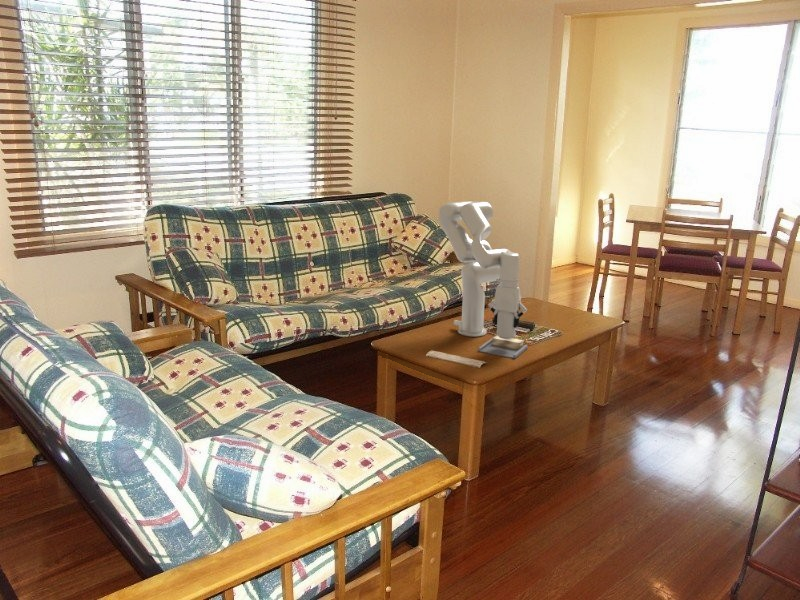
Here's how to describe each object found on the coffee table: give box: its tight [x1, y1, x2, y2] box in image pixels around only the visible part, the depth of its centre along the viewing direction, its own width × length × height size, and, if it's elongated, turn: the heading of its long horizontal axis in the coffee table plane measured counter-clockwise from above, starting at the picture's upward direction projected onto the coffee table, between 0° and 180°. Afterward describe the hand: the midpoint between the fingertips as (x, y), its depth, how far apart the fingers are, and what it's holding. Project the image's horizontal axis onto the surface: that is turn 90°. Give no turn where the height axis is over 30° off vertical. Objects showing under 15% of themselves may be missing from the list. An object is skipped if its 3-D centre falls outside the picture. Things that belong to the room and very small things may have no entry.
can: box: [496, 310, 516, 339], centre depth 289 cm, size 8×8×12 cm
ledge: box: [492, 334, 524, 350], centre depth 294 cm, size 12×4×3 cm, turn 61°
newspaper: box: [425, 350, 488, 369], centre depth 280 cm, size 24×7×2 cm, turn 59°
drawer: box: [477, 337, 529, 359], centre depth 290 cm, size 16×14×2 cm
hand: (506, 325), depth 289 cm, fingers closed on can, 7 cm apart
